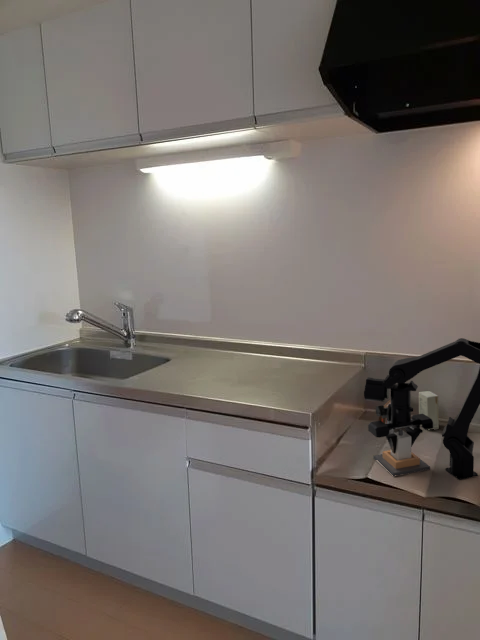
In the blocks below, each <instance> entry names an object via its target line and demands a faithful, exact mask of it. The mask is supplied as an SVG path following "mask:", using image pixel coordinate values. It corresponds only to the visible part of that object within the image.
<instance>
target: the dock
mask: <svg viewBox="0 0 480 640" xmlns="http://www.w3.org/2000/svg"><path fill="white" fill-rule="evenodd" d="M372 459H373V460H374V461H375V460H378V461H379V462H380V463H381V464H382V465H383V466H384V467H385V468H386V469H387V470H388V471H389V472H390V473H391V474H392V475H393V476H392V475H391V474H390V473H389V472H388V471H387V472H388V473H389V474H390V475H391V476H392V477H396V476H395V475H398V476H404V475H408V473H409V474H412V473H418V472H419V473H420V472H424V471H430V470H431V466H430V465H428V463H426V462H425V461H424V460H423V459H421V458H420V457H419V456H417V454H415V453H413V452H412V451H411V458H409V459H403V460H397V459H395V458H394V457H393V456H392V455H391V449H387V450H382V451H381V453H380V454H375V455H373V458H372Z"/></svg>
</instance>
